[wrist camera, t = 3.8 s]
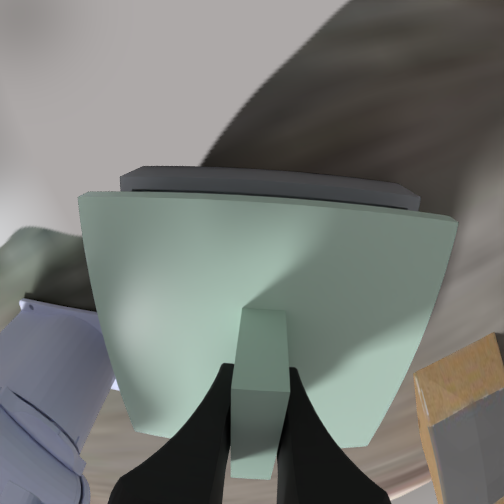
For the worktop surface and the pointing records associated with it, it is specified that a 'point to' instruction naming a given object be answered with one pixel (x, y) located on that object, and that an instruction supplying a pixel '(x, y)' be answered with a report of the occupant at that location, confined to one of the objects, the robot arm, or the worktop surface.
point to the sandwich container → (464, 423)
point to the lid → (261, 307)
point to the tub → (269, 185)
